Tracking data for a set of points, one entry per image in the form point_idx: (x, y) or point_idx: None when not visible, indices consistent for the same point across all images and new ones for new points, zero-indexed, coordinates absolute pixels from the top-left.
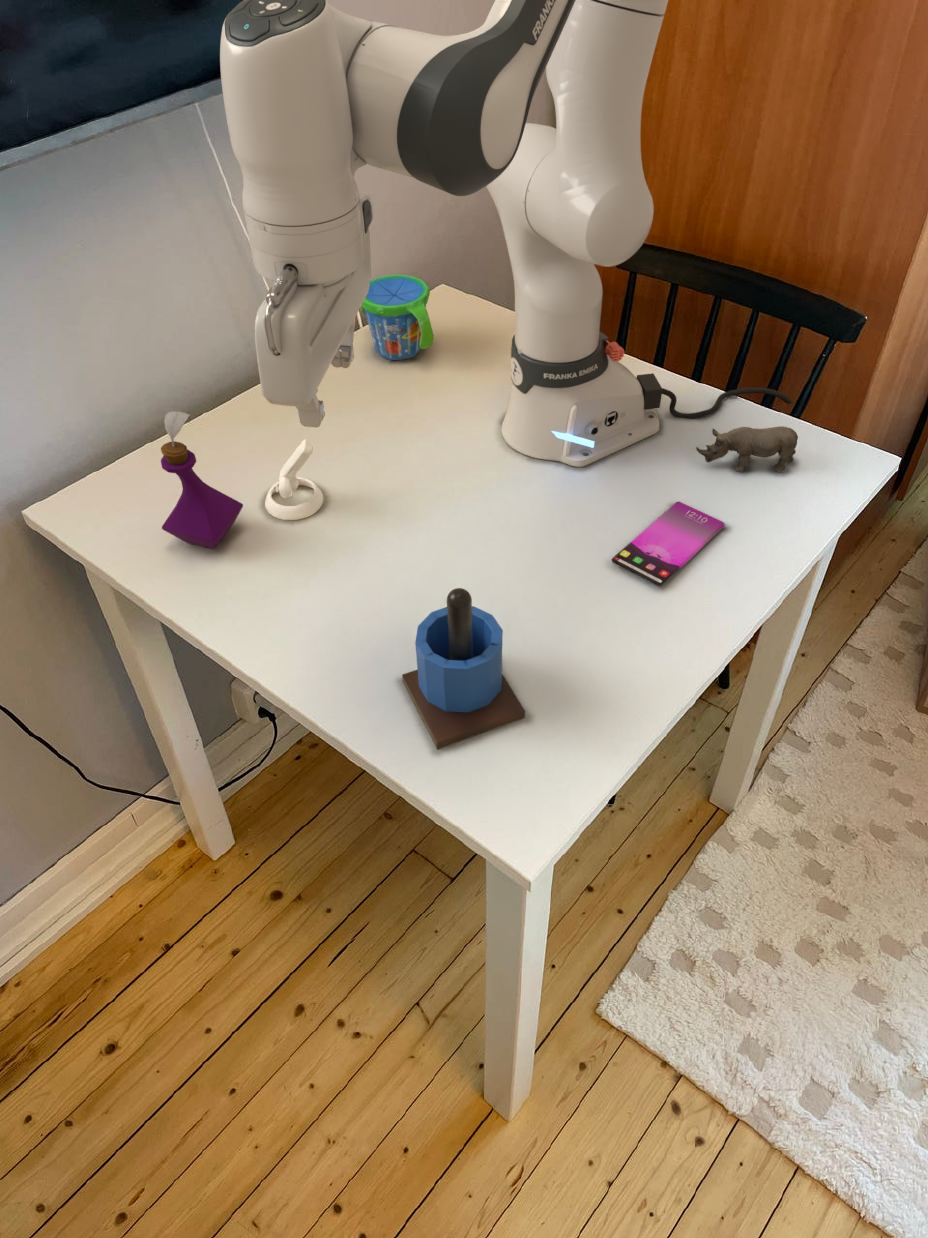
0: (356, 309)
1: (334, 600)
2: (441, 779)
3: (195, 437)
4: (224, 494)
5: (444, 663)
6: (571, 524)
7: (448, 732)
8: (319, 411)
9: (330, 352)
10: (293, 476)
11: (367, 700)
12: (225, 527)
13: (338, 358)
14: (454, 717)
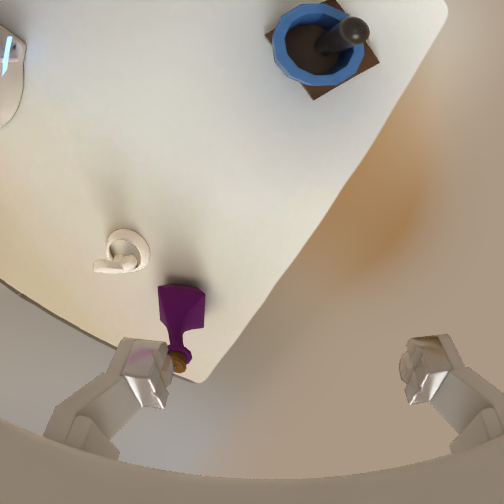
0: (67, 472)
1: (228, 182)
2: (401, 58)
3: (101, 328)
4: (162, 304)
5: (359, 53)
6: (86, 19)
7: (368, 54)
8: (456, 360)
9: (453, 498)
10: (119, 262)
11: (336, 124)
12: (186, 290)
13: (162, 375)
14: None
